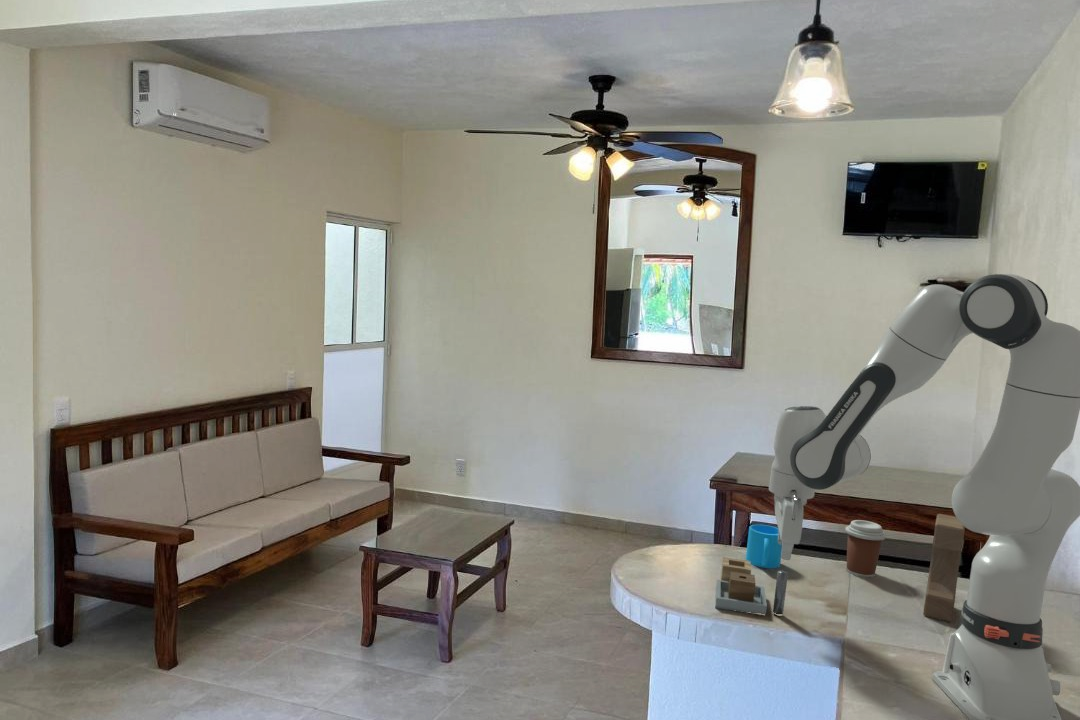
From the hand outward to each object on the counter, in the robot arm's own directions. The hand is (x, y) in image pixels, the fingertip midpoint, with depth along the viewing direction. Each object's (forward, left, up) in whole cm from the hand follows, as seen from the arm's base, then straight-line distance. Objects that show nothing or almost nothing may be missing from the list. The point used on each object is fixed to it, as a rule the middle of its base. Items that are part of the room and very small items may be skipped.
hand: (783, 551), depth 167 cm
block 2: (+3, +7, -13) cm, 15 cm away
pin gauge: (0, 0, -13) cm, 13 cm away
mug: (+31, +1, -14) cm, 34 cm away
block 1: (+13, +8, -13) cm, 21 cm away
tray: (+3, +7, -13) cm, 15 cm away
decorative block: (+17, -35, -14) cm, 41 cm away
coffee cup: (+36, -22, -14) cm, 44 cm away
